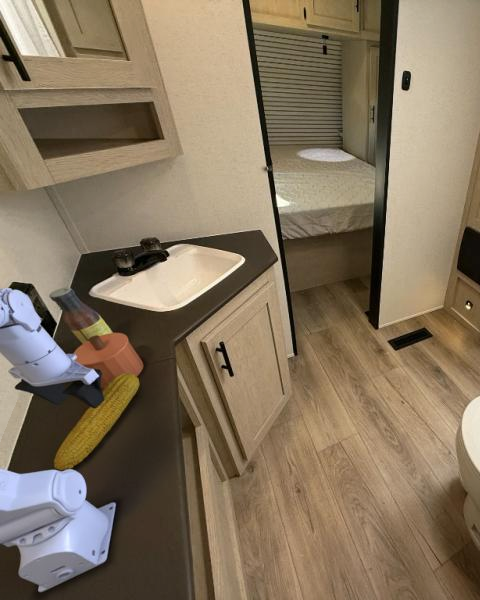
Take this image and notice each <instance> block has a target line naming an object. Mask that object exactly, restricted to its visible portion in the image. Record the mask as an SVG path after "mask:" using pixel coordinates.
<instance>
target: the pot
mask: <svg viewBox="0 0 480 600" xmlns="http://www.w3.org/2000/svg"><path fill="white" fill-rule="evenodd" d="M84 367H86V368H89V369H99V370H101V371H102V377H101V388H102V390H103V389H104V388H105V386H107V385H108V383H109V382H110V381H111V380H112V379H113V378H115V377H116V376H118V375H121V374H123V373H125V374H134V375H135V376H136V377H137V378H138V376H139V375H140V374H141V372H142V371H143V369H144V362H143V361H142V359H141V358H140V356H139V354H138V353H137V352H136V350H135V349H134V347H133V346H132V344H131V343H130V341H129V342H128V345H127V346H126V348H125V349H124V350H123V351H122V352H120V353H119V354H118V355H116V356H114V357H113V358H111V359H109V360H107V361H104V362H101V363H98V364H94V365H88V366H84Z"/></svg>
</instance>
